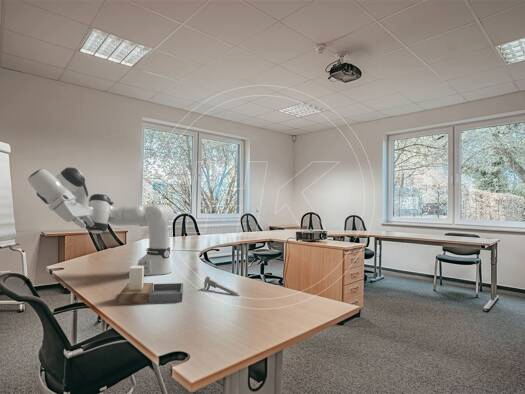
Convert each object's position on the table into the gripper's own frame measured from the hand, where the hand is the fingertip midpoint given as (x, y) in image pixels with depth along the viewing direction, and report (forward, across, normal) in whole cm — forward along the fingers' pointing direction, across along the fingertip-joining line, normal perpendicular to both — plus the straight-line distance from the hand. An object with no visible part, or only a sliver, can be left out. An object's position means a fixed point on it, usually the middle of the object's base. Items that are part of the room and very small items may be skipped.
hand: (88, 226), depth 132 cm
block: (+32, 0, -4) cm, 33 cm away
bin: (+44, -1, +2) cm, 44 cm away
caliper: (+61, -5, +19) cm, 64 cm away
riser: (+36, 0, -7) cm, 36 cm away
